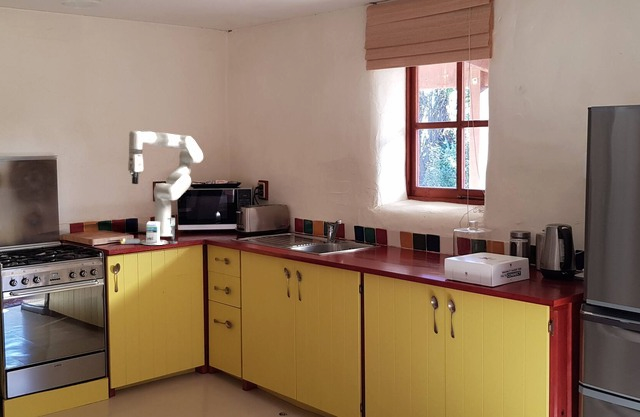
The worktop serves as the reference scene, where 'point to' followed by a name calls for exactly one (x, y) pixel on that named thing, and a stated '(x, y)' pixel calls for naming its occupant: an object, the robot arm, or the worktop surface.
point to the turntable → (141, 242)
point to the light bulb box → (153, 232)
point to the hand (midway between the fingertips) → (135, 183)
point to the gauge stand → (172, 223)
